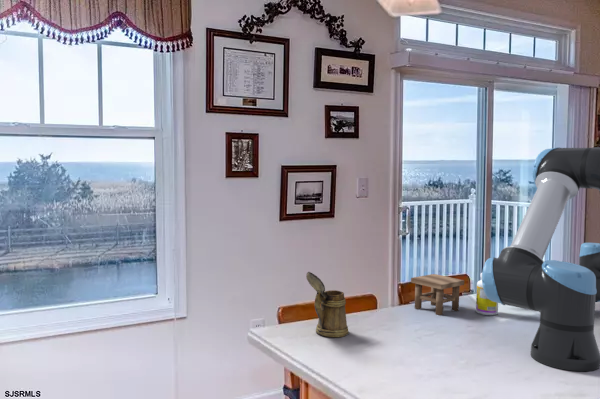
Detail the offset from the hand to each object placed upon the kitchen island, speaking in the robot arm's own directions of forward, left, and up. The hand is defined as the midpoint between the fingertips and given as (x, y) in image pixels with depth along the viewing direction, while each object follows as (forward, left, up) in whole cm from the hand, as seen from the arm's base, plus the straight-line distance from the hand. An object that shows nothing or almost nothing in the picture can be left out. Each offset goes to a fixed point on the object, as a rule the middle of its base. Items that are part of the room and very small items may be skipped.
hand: (502, 291), depth 169 cm
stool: (-15, +14, -7) cm, 22 cm away
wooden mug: (-62, +15, -7) cm, 64 cm away
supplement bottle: (-5, +2, -7) cm, 9 cm away
